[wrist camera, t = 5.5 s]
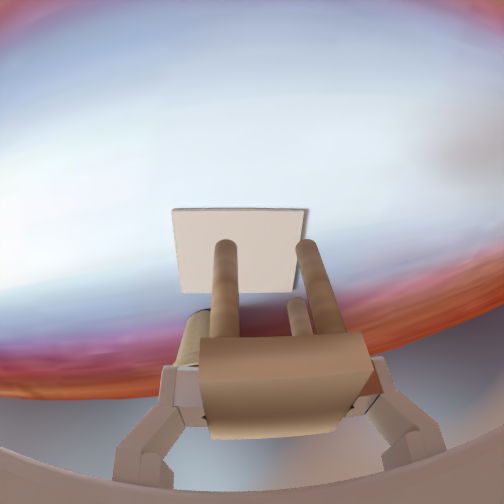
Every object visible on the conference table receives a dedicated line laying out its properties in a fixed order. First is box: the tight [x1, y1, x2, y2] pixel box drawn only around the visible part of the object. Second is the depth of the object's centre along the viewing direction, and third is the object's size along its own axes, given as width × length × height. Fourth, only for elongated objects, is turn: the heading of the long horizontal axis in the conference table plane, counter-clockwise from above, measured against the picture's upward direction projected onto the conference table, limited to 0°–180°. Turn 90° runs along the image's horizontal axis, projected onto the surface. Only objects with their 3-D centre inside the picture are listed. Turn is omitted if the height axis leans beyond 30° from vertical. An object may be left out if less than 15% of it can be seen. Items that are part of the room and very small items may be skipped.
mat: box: [171, 209, 304, 293], centre depth 31 cm, size 10×12×1 cm
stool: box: [198, 239, 374, 439], centre depth 12 cm, size 5×5×7 cm
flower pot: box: [173, 310, 211, 367], centre depth 34 cm, size 9×9×9 cm
